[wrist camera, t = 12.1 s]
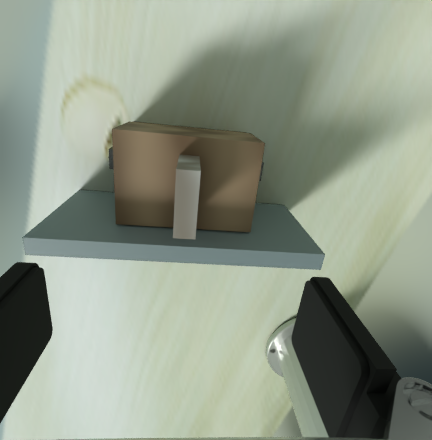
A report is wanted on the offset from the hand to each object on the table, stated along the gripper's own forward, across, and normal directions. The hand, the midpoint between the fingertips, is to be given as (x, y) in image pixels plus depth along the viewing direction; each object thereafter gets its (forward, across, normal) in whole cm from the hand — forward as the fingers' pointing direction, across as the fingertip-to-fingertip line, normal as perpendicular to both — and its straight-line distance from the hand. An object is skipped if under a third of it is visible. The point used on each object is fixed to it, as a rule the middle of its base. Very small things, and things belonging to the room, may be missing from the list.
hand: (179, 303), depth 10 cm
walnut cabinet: (+24, 0, 0) cm, 24 cm away
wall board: (+24, 0, +5) cm, 24 cm away
